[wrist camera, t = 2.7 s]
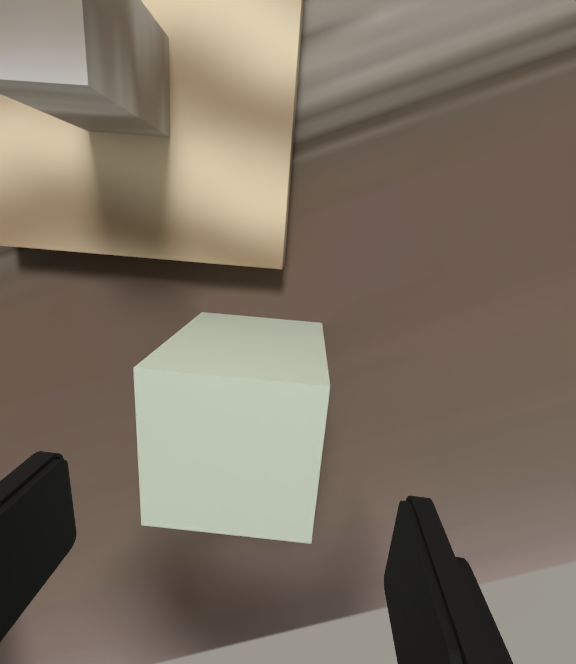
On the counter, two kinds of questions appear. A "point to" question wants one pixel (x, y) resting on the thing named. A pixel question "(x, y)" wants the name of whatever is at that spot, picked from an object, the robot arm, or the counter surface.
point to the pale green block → (233, 427)
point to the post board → (172, 176)
